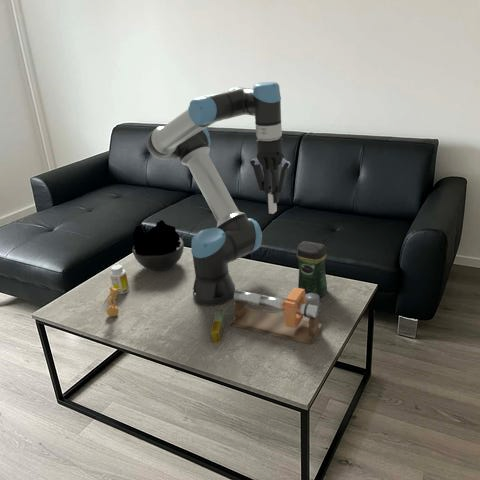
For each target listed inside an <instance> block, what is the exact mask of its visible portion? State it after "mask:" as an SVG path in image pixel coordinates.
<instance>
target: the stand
mask: <svg viewBox="0 0 480 480" xmlns="http://www.w3.org/2000/svg"><path fill="white" fill-rule="evenodd" d="M233 310H234V311H233V312H234V318H233V319H232V321H231V322H230V323H231V326H232V327H233V326H234V327H238V328H242V329H245V330H249V331H253V332H258V333H262V334H265V335H267V334H268V335H271V336H275V337H281V338H284V339H287V340H292V341H296V342H297V341H298V342H301V343H306V344H309V345H314V342H315V340H316V339H317V337H318V335H319V334H320V331H321V330H322V327H323V323H320V312H319V313H318V314H317V317H316V318H313V317H309V319H308V320H306V319H305V320H304V319H302V320H301V322H300V323H299V325H298V326H297V327H296V328H291V327H286V324H285V315H282V314H277V313H273V312H269V311H264V310H258V309H254V308H249V307H246V303H242V302H237V301H234V303H233Z"/></svg>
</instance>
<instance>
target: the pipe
mask: <svg viewBox="0 0 480 480" xmlns="http://www.w3.org/2000/svg"><path fill="white" fill-rule="evenodd" d="M235 290H236V291H235V293H234V297H233V301H234V302H236V301H237V302H242V303H245V305H246V304H247V305H250V306H252V305H253V306H257V307H262V308H266V309H270V310H275V311H281V312H284V306H285V301H286V298H279V297H275V296H270V295H265V294H259V293H255V292H250V291H245V290H240V289H235ZM296 314H298V315H303V316H304V317H305V318H308V317H309V318H310V317H313V318H316V317H317V314H318V306H315V305H310V304H309V303H307V304H305V303H300V302H298V303H297V306H296Z"/></svg>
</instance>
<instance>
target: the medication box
mask: <svg viewBox="0 0 480 480" xmlns="http://www.w3.org/2000/svg"><path fill="white" fill-rule="evenodd" d="M225 325H226V314H225V311H224V309H217V310H216V311H215V313H214V318H213V321H212V325H211V329H210V339H211V343H212V344H213V343H221V341H222V336H223V333H224V332H223V331H224V328H225Z"/></svg>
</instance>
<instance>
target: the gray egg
mask: <svg viewBox="0 0 480 480" xmlns="http://www.w3.org/2000/svg"><path fill="white" fill-rule="evenodd" d="M305 302H306V304H307V303H309V304H310V305H315V306H318V313H319V314H320V297H319V295H318V294H316V293H308V294H306V295H305Z"/></svg>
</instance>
